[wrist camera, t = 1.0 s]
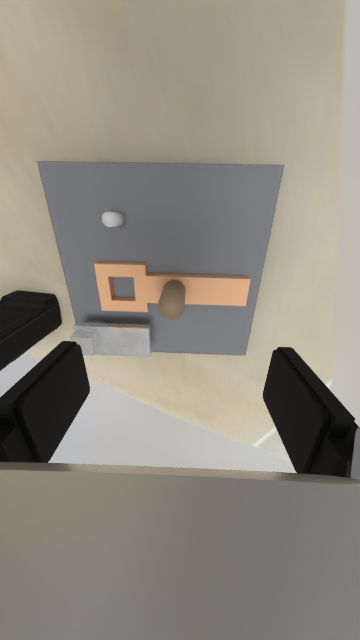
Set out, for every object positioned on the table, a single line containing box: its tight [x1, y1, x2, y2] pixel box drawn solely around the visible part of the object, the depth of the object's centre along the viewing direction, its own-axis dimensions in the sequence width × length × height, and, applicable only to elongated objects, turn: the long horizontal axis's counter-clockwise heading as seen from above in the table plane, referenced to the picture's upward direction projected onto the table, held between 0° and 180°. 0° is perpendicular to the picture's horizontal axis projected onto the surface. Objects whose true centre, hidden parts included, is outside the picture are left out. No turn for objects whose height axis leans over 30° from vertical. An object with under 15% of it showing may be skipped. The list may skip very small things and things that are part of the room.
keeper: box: [70, 320, 152, 357], centre depth 32 cm, size 5×11×7 cm, turn 89°
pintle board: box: [37, 161, 284, 355], centre depth 29 cm, size 27×29×5 cm
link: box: [94, 262, 251, 320], centre depth 27 cm, size 22×7×8 cm, turn 89°
